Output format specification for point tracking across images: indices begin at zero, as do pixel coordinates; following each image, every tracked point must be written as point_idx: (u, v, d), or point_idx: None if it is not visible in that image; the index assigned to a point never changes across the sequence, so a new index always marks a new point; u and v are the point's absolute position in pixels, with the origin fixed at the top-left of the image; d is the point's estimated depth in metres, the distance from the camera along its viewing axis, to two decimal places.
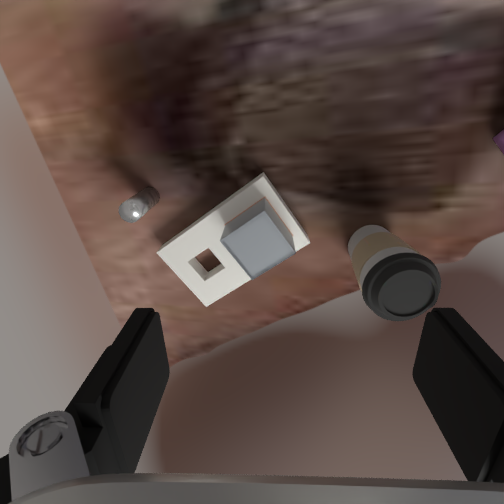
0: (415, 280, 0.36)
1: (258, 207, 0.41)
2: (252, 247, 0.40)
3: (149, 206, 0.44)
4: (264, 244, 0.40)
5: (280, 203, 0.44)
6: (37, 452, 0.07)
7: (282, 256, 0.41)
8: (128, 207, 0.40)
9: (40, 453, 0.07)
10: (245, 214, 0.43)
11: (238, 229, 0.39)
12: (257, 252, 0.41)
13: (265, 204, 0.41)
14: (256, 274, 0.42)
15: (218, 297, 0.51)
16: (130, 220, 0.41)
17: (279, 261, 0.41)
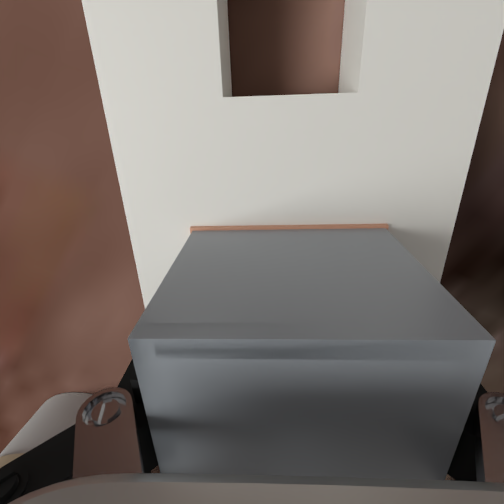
0: None
1: None
2: (316, 439, 0.07)
3: None
4: None
5: None
6: (98, 423, 0.07)
7: None
8: None
9: (100, 424, 0.07)
10: None
11: (451, 442, 0.07)
12: (274, 442, 0.07)
13: None
14: (156, 376, 0.07)
15: None
16: None
17: None
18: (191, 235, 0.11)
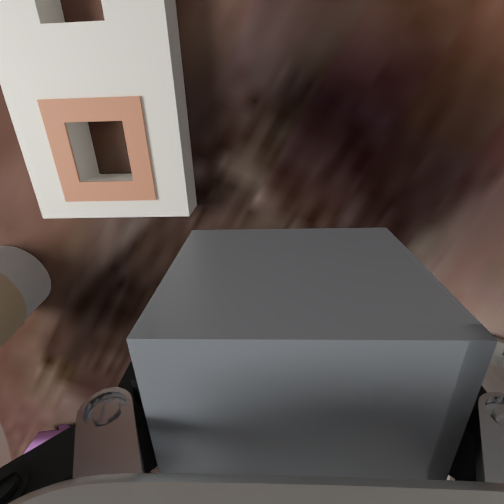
0: None
1: None
2: (316, 440, 0.07)
3: None
4: None
5: (132, 214, 0.25)
6: (98, 423, 0.07)
7: None
8: None
9: (101, 424, 0.07)
10: None
11: (452, 443, 0.07)
12: (274, 443, 0.07)
13: None
14: (155, 377, 0.07)
15: None
16: None
17: None
18: (191, 235, 0.11)
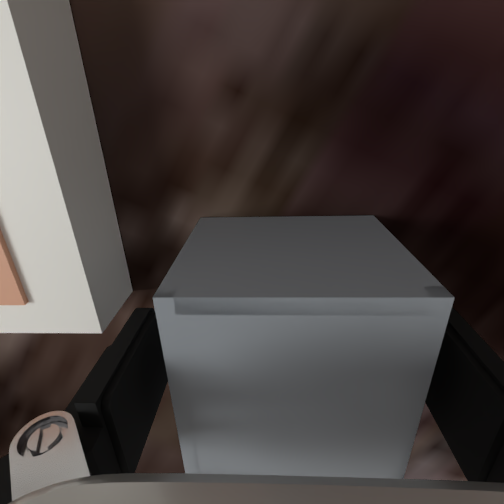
0: None
1: None
2: (309, 388, 0.09)
3: None
4: (288, 425, 0.09)
5: None
6: (37, 452, 0.07)
7: (198, 444, 0.10)
8: None
9: (40, 453, 0.07)
10: None
11: (422, 389, 0.08)
12: (273, 391, 0.09)
13: None
14: (175, 331, 0.08)
15: None
16: None
17: (184, 428, 0.09)
18: (199, 221, 0.13)
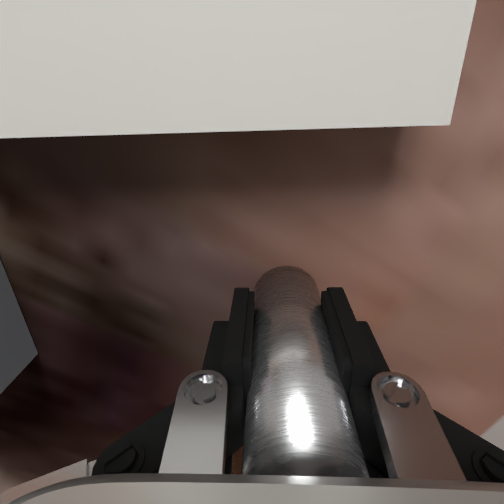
0: None
1: None
2: None
3: (262, 347, 0.09)
4: None
5: None
6: (195, 400, 0.08)
7: None
8: None
9: (197, 402, 0.08)
10: None
11: None
12: None
13: None
14: None
15: None
16: (342, 472, 0.06)
17: None
18: None
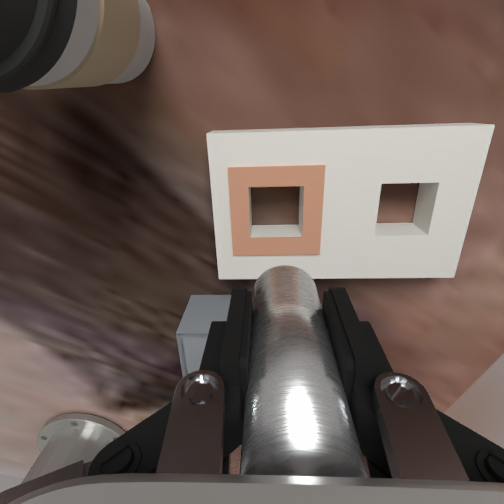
0: None
1: None
2: None
3: (260, 345, 0.09)
4: None
5: (217, 231, 0.26)
6: (192, 400, 0.08)
7: (196, 339, 0.27)
8: None
9: (194, 402, 0.08)
10: None
11: None
12: None
13: None
14: None
15: (451, 130, 0.22)
16: (340, 470, 0.06)
17: (204, 335, 0.26)
18: None
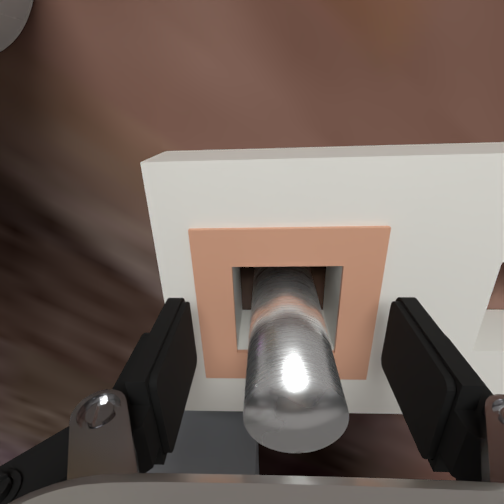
0: None
1: None
2: None
3: (260, 311, 0.11)
4: None
5: None
6: (93, 425, 0.07)
7: None
8: (282, 432, 0.09)
9: (95, 426, 0.07)
10: None
11: None
12: None
13: None
14: None
15: None
16: (324, 396, 0.08)
17: None
18: None
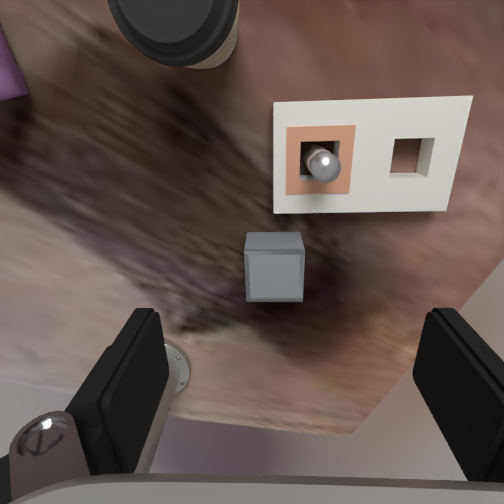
0: (142, 4, 0.20)
1: None
2: (279, 279, 0.38)
3: (312, 153, 0.33)
4: (266, 275, 0.38)
5: (275, 175, 0.36)
6: (37, 452, 0.07)
7: (258, 255, 0.37)
8: (322, 174, 0.31)
9: (40, 453, 0.07)
10: None
11: (279, 300, 0.39)
12: (278, 272, 0.38)
13: None
14: (296, 253, 0.36)
15: (443, 99, 0.32)
16: (334, 159, 0.30)
17: (264, 252, 0.36)
18: None
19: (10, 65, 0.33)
